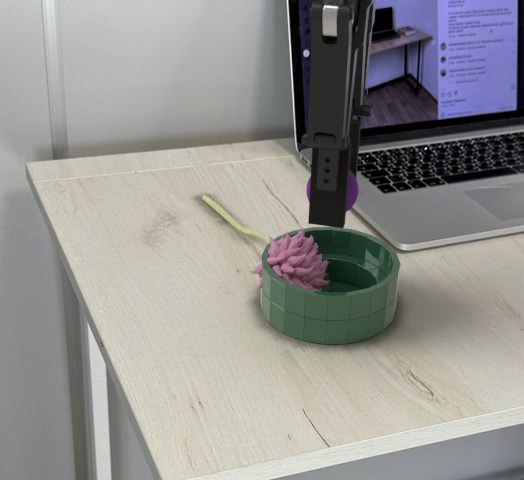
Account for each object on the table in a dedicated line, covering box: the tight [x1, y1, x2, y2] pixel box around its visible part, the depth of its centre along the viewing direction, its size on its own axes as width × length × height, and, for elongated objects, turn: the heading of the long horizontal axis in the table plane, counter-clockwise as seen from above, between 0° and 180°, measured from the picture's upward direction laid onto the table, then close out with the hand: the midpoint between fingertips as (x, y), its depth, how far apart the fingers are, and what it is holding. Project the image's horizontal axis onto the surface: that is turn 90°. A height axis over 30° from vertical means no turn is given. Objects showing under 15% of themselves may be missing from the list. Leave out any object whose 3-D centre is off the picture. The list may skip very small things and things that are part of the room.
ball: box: [305, 170, 359, 213], centre depth 68 cm, size 4×4×4 cm
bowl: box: [260, 226, 402, 345], centre depth 73 cm, size 11×11×5 cm
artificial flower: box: [201, 194, 330, 291], centre depth 80 cm, size 7×7×25 cm
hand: (332, 209), depth 69 cm, fingers closed on ball, 4 cm apart
